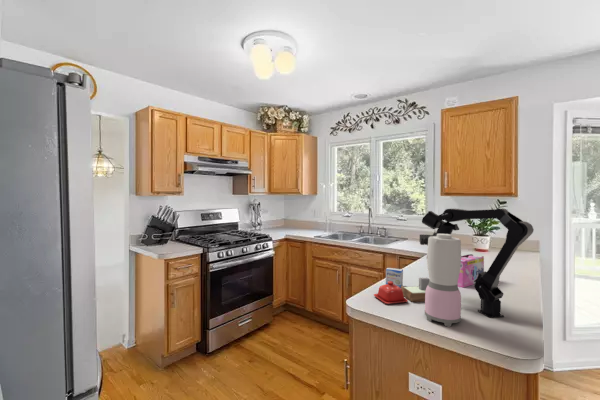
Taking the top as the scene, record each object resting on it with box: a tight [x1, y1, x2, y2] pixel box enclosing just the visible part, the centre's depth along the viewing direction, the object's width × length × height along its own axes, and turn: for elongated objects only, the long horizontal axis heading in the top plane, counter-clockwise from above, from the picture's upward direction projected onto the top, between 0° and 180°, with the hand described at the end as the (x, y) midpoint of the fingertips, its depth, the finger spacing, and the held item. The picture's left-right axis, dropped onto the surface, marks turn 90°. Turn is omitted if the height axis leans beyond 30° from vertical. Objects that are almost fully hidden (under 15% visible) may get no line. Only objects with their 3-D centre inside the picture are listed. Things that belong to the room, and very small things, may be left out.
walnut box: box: [401, 285, 425, 303], centre depth 132 cm, size 10×14×4 cm
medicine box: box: [385, 267, 404, 288], centre depth 150 cm, size 8×4×9 cm, turn 62°
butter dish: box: [373, 281, 409, 305], centre depth 129 cm, size 12×12×8 cm
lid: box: [403, 277, 429, 293], centre depth 132 cm, size 8×12×6 cm, turn 98°
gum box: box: [457, 254, 485, 288], centre depth 157 cm, size 24×8×14 cm, turn 124°
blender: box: [424, 234, 462, 328], centre depth 110 cm, size 16×12×32 cm
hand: (428, 263), depth 135 cm, fingers open, 9 cm apart
